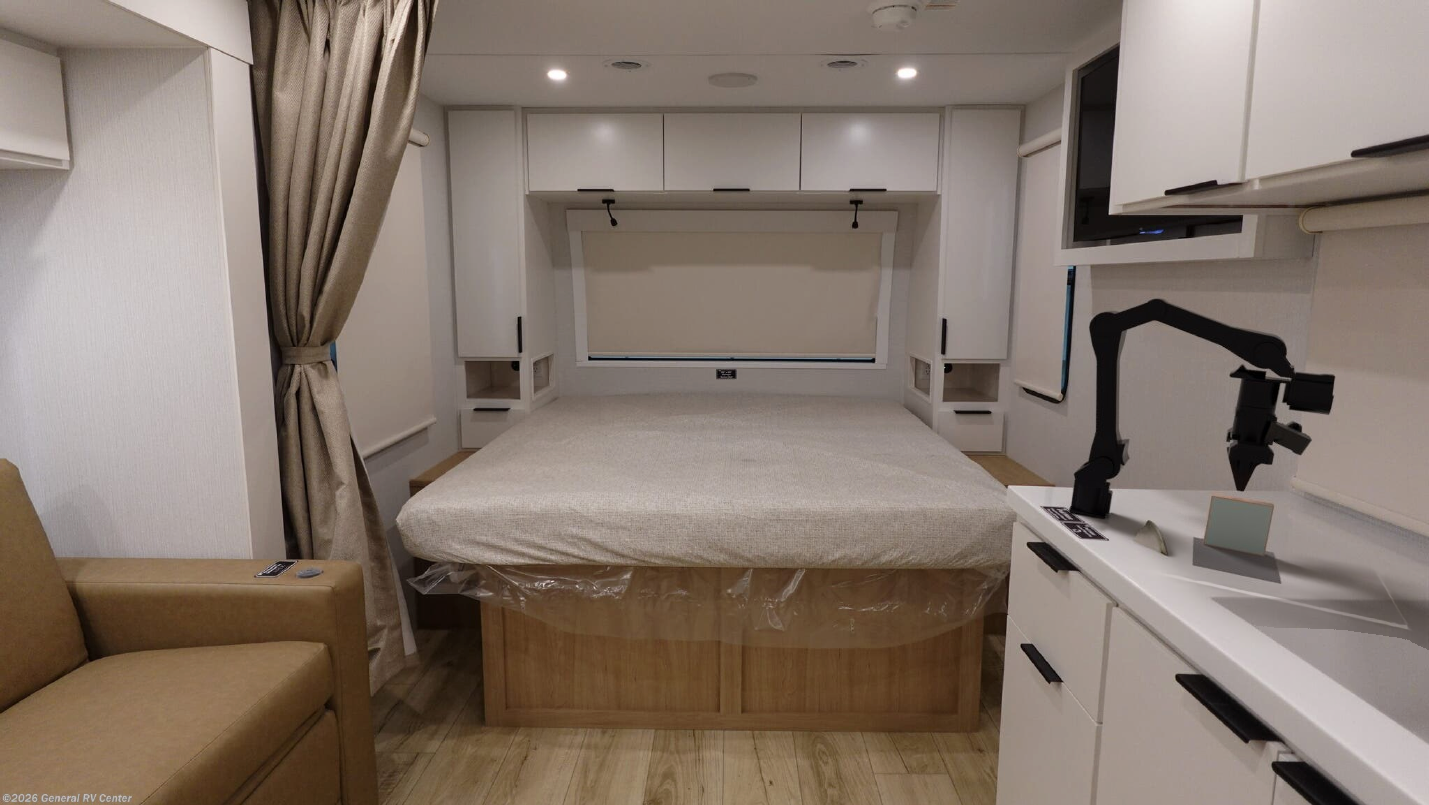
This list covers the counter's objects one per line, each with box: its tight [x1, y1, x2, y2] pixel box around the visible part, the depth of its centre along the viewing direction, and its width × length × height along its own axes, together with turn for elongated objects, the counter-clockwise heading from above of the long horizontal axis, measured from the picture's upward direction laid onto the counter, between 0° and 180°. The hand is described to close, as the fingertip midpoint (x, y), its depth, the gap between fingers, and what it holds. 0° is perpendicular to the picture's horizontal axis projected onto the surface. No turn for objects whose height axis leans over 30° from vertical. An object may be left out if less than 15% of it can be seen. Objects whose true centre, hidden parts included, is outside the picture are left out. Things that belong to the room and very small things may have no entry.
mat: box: [1192, 536, 1282, 585], centre depth 133 cm, size 12×16×1 cm
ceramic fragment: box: [1131, 519, 1169, 557], centre depth 140 cm, size 14×5×4 cm, turn 163°
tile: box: [1203, 493, 1275, 556], centre depth 137 cm, size 9×2×9 cm, turn 59°
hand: (1240, 490), depth 141 cm, fingers closed
